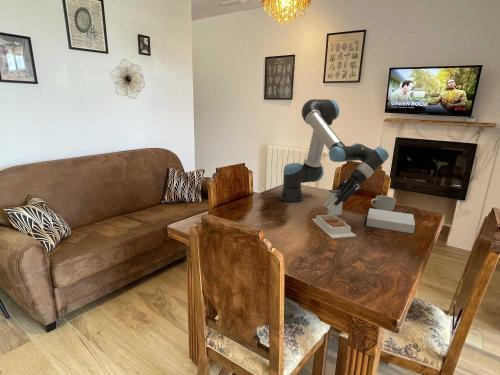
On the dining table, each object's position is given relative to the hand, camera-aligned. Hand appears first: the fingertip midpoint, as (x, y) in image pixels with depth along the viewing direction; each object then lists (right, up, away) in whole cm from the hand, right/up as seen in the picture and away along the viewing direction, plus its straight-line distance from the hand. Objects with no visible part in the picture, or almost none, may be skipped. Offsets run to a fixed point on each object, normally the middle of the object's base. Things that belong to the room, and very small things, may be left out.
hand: (327, 207), depth 145 cm
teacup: (+40, -4, +29) cm, 49 cm away
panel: (+4, -3, +2) cm, 5 cm away
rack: (+3, -10, +4) cm, 12 cm away
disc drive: (+35, -10, +10) cm, 38 cm away
